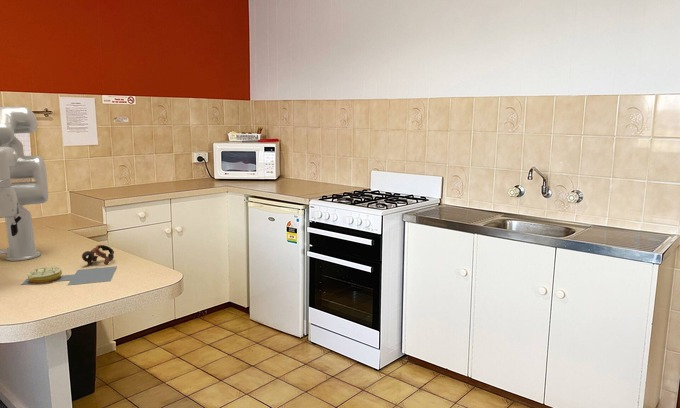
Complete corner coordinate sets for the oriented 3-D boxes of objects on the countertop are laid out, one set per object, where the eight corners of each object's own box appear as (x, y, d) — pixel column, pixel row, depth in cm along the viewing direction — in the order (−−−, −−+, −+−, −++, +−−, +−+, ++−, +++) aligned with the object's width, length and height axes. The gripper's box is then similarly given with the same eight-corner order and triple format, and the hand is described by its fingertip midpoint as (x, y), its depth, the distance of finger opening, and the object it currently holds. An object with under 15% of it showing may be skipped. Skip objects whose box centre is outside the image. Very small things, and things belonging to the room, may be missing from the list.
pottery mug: (100, 259, 219) (109, 243, 217) (112, 273, 214) (120, 256, 212) (73, 259, 208) (82, 242, 207) (85, 273, 204) (93, 255, 202)
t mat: (15, 290, 180) (15, 290, 180) (31, 274, 198) (31, 273, 198) (110, 281, 189) (110, 280, 189) (117, 266, 207) (117, 266, 207)
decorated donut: (31, 277, 194) (30, 267, 194) (63, 273, 198) (62, 264, 197) (25, 285, 185) (24, 275, 184) (60, 281, 188) (59, 271, 188)
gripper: (-35, 187, 176) (-27, 240, 180) (22, 184, 181) (29, 236, 184) (-26, 184, 184) (-19, 235, 187) (29, 182, 188) (35, 231, 191)
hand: (5, 235), depth 185 cm, fingers open, 5 cm apart
